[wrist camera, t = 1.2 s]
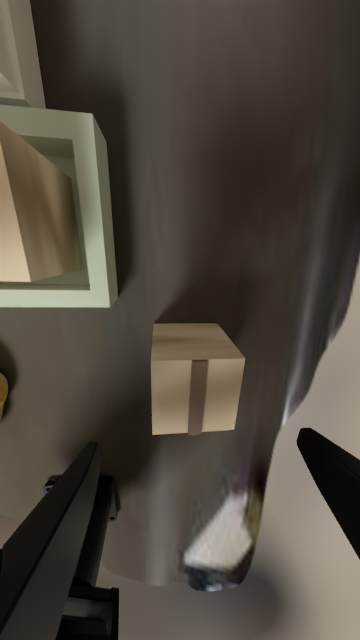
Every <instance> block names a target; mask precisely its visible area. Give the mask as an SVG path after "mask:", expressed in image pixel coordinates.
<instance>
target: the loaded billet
mask: <svg viewBox="0 0 360 640" xmlns="http://www.w3.org/2000/svg"><path fill="white" fill-rule="evenodd" d="M82 269H83V267H82V259H81V251H80V244H79V236H78V228H77V220H76V213H75V205H74V197H73V189H72V182H71V178H70V177H69V176H67V175H66V174H65V173H64V172H62V171H61V170H60V169H59V168H58V167H56V166H55V165H54V164H53V163H51V162H50V161H49V160H48V159H47V158H45V157H44V156H43V155H42V154H40V153H39V152H38V151H37V150H36V149H34V148H33V147H32V146H31V145H29V144H28V143H27V142H26V141H24V140H23V139H22V138H21V137H20V136H18V135H17V134H16V133H15V132H13V131H12V130H11V129H10V128H9V127H7V126H6V125H5V124H4V123H2V122H1V121H0V281H9V282H32V281H36V280H41V279H45V278H49V277H53V276H57V275H61V274H65V273H69V272H74V271H78V270H82Z"/></svg>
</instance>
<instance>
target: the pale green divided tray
mask: <svg viewBox="0 0 360 640" xmlns="http://www.w3.org/2000/svg"><path fill="white" fill-rule="evenodd" d="M0 121H1V122H2V123H4V124H5V125H6V126H7V127H9V128H10V129H11V130H12V131H13V132H15V133H16V134H17V135H18V136H20V137H21V138H22V139H23V140H24V141H26V142H27V143H28V144H29V145H31V146H32V147H33V148H34V149H36V150H37V151H38V152H39V153H40V154H42V155H43V156H44V157H45V158H47V159H48V160H49V161H50V162H51V163H53V164H54V165H55V166H56V167H58V168H59V169H60V170H61V171H62V172H64V173H65V174H66V175H67V176H69V177H70V178H71V182H72V189H73V197H74V205H75V213H76V220H77V228H78V236H79V244H80V251H81V259H82V267H83V269H82V270H78V271H74V272H69V273H65V274H61V275H57V276H53V277H49V278H45V279H41V280H36V281H32V282H9V281H0V307H111V306H112V304H113V303H114V302H115V301H116V300H117V299H118V289H117V276H116V262H115V249H114V236H113V223H112V209H111V196H110V183H109V169H108V156H107V143H106V140H105V138H104V136H103V134H102V132H101V130H100V128H99V126H98V124H97V122H96V120H95V118H94V116H93V114H92V113H82V112H71V111H61V110H51V109H41V108H31V107H21V106H11V105H1V104H0Z"/></svg>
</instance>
